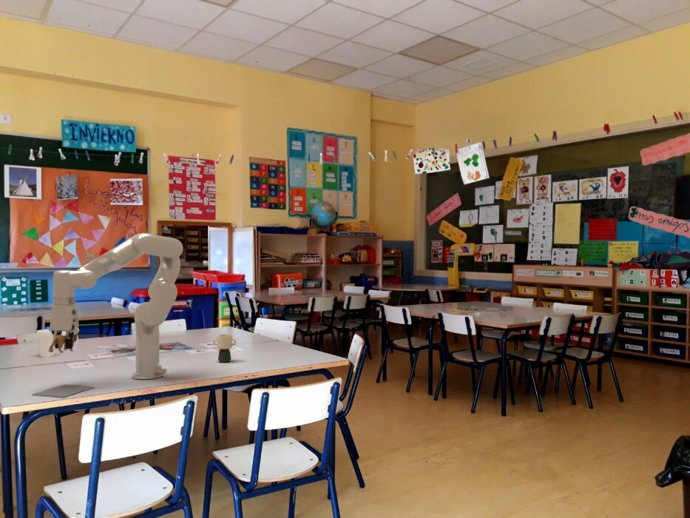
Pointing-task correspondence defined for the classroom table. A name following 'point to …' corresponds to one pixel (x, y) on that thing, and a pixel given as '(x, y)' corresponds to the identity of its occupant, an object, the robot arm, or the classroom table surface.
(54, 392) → the felt mat
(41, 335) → the foam cup
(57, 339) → the lion figurine
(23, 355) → the classroom table surface
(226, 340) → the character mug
